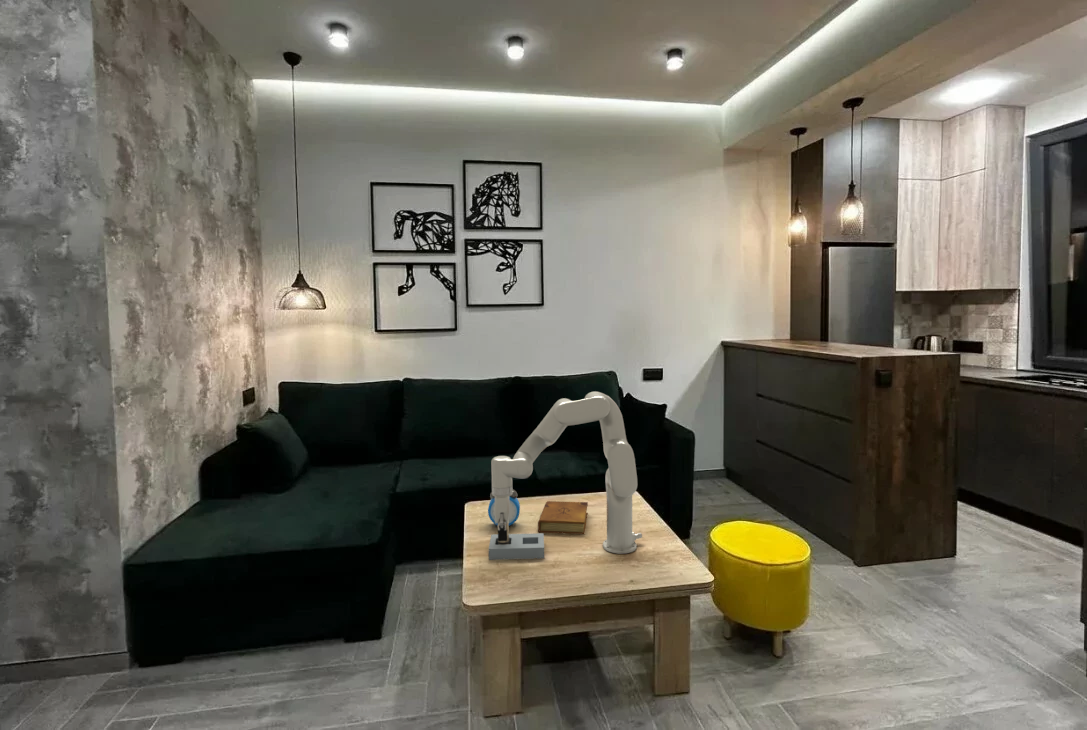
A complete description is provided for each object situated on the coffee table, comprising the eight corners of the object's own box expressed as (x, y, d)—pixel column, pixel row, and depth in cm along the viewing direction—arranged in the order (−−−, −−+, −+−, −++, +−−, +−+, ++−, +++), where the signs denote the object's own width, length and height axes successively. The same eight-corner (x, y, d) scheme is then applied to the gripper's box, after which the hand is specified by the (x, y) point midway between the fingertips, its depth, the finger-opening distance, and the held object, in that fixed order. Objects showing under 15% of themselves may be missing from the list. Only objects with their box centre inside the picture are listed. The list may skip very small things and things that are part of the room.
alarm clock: (488, 527, 225) (487, 492, 224) (489, 522, 232) (488, 487, 230) (519, 527, 226) (519, 491, 224) (520, 521, 232) (519, 487, 230)
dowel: (506, 548, 205) (505, 517, 204) (511, 552, 202) (510, 520, 200) (496, 550, 203) (495, 519, 202) (501, 555, 199) (500, 523, 198)
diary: (545, 513, 242) (545, 501, 242) (587, 515, 240) (587, 502, 239) (538, 533, 220) (537, 519, 219) (584, 535, 217) (584, 521, 217)
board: (543, 543, 209) (543, 533, 209) (544, 558, 196) (544, 547, 196) (491, 544, 209) (491, 534, 208) (488, 559, 196) (488, 549, 195)
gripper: (493, 483, 209) (494, 526, 210) (490, 498, 191) (491, 545, 193) (513, 482, 209) (514, 526, 210) (511, 497, 192) (512, 544, 193)
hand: (503, 535), depth 202 cm, fingers open, 9 cm apart
